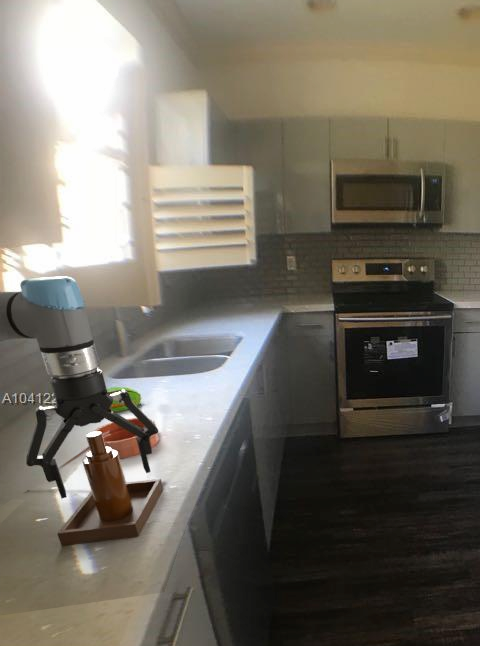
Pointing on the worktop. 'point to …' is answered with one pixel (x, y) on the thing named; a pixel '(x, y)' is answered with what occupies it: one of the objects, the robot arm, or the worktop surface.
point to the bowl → (124, 438)
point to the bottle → (106, 479)
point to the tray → (93, 529)
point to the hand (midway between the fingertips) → (107, 481)
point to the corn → (120, 407)
